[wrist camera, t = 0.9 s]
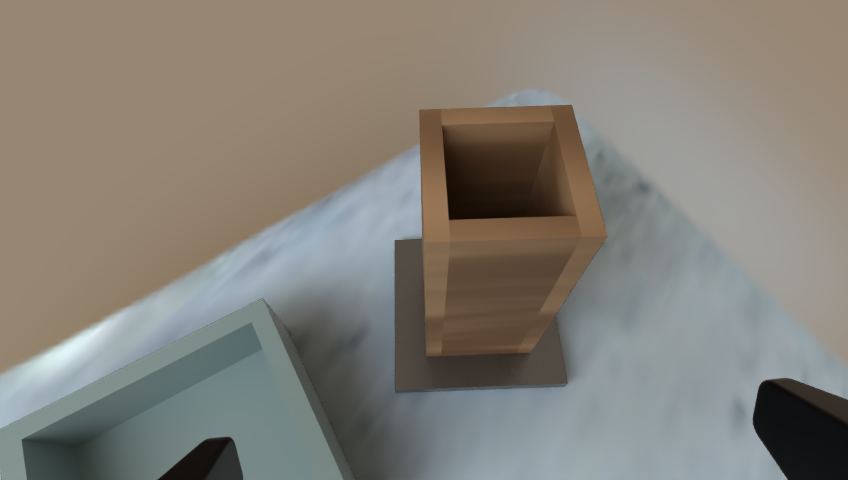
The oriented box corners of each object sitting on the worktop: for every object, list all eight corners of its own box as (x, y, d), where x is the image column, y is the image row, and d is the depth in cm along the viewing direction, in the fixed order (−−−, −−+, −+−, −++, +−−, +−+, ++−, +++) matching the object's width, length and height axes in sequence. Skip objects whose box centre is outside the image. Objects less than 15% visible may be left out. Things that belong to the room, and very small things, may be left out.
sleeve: (530, 352, 22) (607, 236, 13) (426, 356, 22) (424, 242, 13) (516, 260, 25) (571, 105, 15) (422, 263, 25) (419, 109, 15)
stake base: (564, 386, 22) (594, 359, 18) (395, 392, 22) (388, 367, 18) (537, 240, 26) (557, 192, 22) (395, 245, 26) (389, 198, 22)
